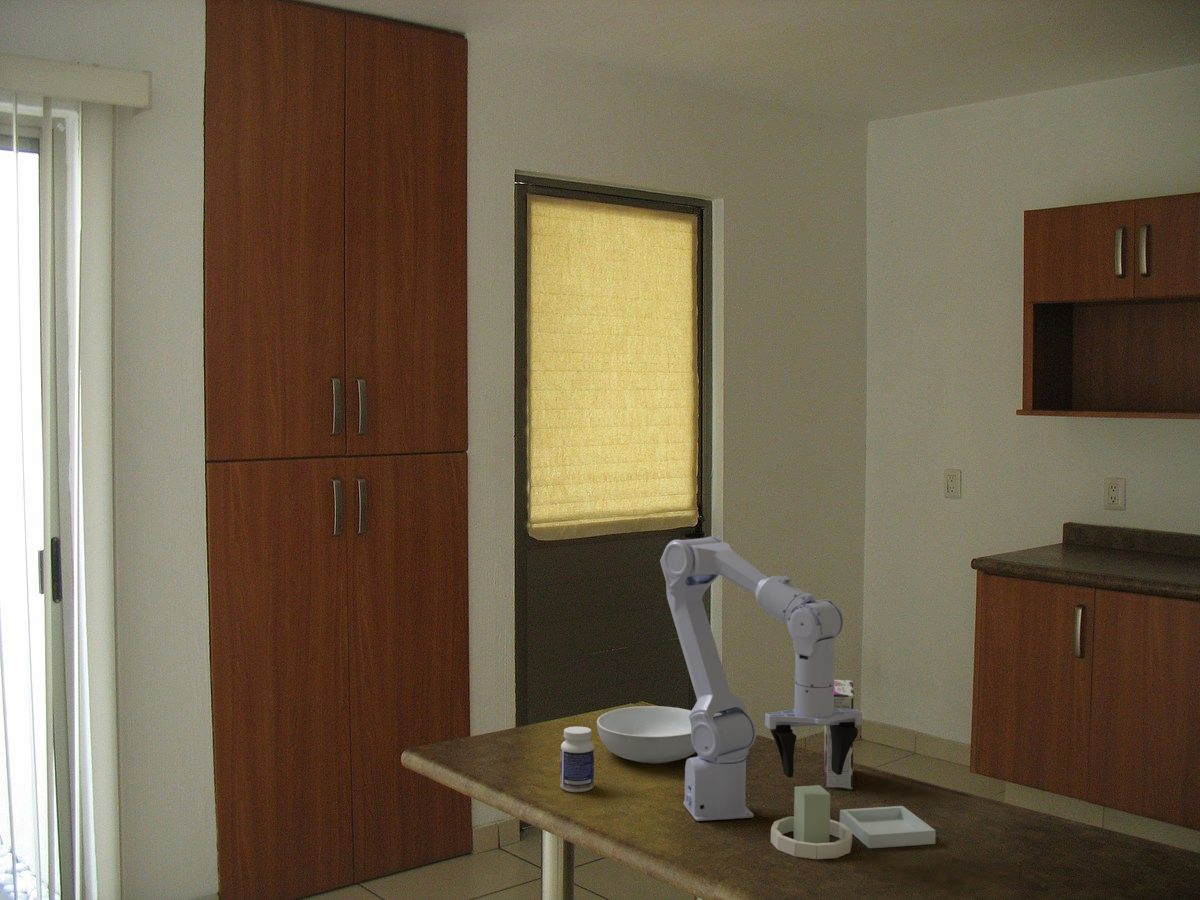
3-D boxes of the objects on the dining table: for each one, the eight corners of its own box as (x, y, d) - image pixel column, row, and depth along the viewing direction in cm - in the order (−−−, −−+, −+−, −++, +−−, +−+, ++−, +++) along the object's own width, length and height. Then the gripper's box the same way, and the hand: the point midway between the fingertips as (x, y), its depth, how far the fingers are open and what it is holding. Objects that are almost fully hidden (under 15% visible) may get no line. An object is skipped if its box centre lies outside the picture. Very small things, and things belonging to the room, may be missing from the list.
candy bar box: (823, 768, 201) (825, 678, 201) (851, 770, 200) (853, 679, 200) (823, 788, 190) (825, 693, 190) (853, 790, 189) (855, 695, 189)
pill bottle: (600, 789, 188) (601, 731, 188) (572, 795, 185) (572, 736, 185) (581, 780, 193) (582, 723, 193) (553, 786, 190) (554, 728, 190)
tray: (869, 848, 164) (869, 835, 164) (839, 822, 174) (839, 809, 174) (935, 843, 166) (935, 830, 166) (902, 818, 177) (902, 805, 177)
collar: (788, 861, 159) (788, 847, 159) (760, 831, 170) (761, 818, 170) (864, 855, 161) (864, 842, 161) (832, 826, 173) (832, 813, 173)
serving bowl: (636, 733, 222) (637, 699, 222) (729, 753, 210) (729, 717, 209) (573, 759, 205) (574, 722, 205) (670, 782, 193) (670, 743, 192)
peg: (803, 849, 163) (804, 795, 163) (793, 839, 167) (794, 786, 167) (829, 847, 164) (830, 794, 164) (818, 837, 168) (819, 785, 168)
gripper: (777, 691, 160) (775, 785, 160) (871, 687, 163) (869, 780, 163) (760, 680, 167) (759, 770, 167) (851, 676, 169) (849, 765, 170)
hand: (812, 774), depth 165 cm, fingers open, 7 cm apart
